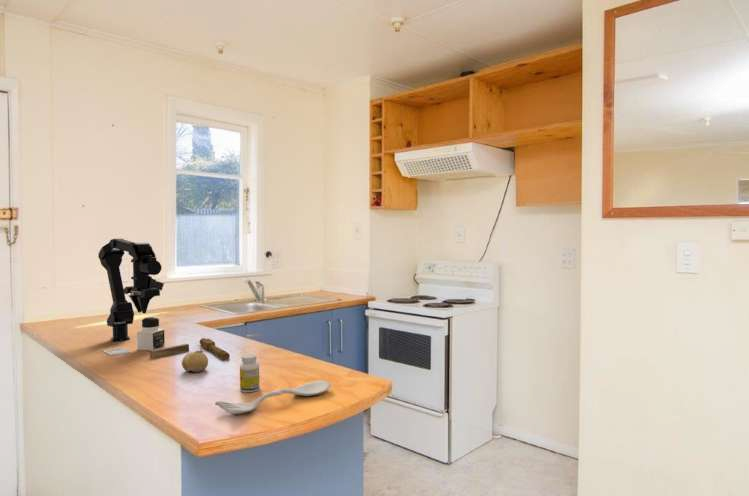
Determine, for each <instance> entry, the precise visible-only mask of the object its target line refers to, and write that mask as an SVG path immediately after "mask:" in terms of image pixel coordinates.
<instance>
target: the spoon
mask: <svg viewBox="0 0 749 496" xmlns="http://www.w3.org/2000/svg"><path fill="white" fill-rule="evenodd" d="M330 387H331V382H329V381H328V380H315V381H310V382H307V383H304V384H301V385H298V386H295V387H293V388H289V389H287V388H285V389H284V388H283V389H276V390H275V389H274V390H273V391H270V392H267V393H265V394H263V395H261V396H259V397H258V398H256V399H255V400H253V401H251V402H226V401H222V400H221V401H219V400H218V401H216V402H214V404H215V405H216V406H218V407H219V408H221V409H223V410H224V411H225V412H228V413H230V414H231V415H237V414H238V415H239V414H245V413H249V412H251V411H253V410H255V408H256V407H257V406H258V405H259V404H260V403H261V402H263V401H264V400H265V399H268V398H270V397H276V396H281V395H283V394H290V395H291V394H293V395H296V396H303V397H310V396H316V395H320V394H323V393H324V392H326V391H328V389H330Z"/></svg>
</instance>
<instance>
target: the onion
mask: <svg viewBox="0 0 749 496" xmlns="http://www.w3.org/2000/svg"><path fill="white" fill-rule="evenodd" d="M181 365H182V368H183V370H184V371H186V372H187V373H189V374H190V373H191V372H193V373H200V372H202V371H204V370H206V369H207V367H208V365H209V358H208V357H207V355H206V354H205V353H204V351H203V350H202V348H200V349H199V350H195V351H194V350H193V351H189V352H188V353H187V354H185V355H184V356H183V358H182V360H181ZM190 371H191V372H190Z"/></svg>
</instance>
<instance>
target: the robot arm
mask: <svg viewBox="0 0 749 496" xmlns="http://www.w3.org/2000/svg"><path fill="white" fill-rule="evenodd" d="M125 252H127V253H128V255H129V256H131V257H132V259H131V260H130V262H131V263H132V268H133V269H132V276H130V277H131V278H130V279H131V280H133V281H132V282H133V285H132V286H131V285H130V286H129V285H128V286H125V287H124V284H123V279H122V273H121V269H120V266H121V264H122V262H123V256H124V255H125V254H126V253H125ZM97 255H98V256H97V257H98V260H99V261H100V265H101V266H102V267H103V268H104V270H106V273H107V278H108V279H107V280H108V284H109V289H110V293H111V294H110V295H111V298H112V305H111V307H110V309H109V313H110V314H109V315H108V317H107V319H106V324H107V326H108V327H112V337H111V338H110V339H111V341H112V342H117V341H118V342H120V341H127V340H131V337H130V336H129V325H132V324H133V323H134V319H135V311H134V309H133V308H134V307H135V309H136V311H137V313H138V314H139V313H142V314H146V313H147V310H148V307H149V303H150V301H151V300H152V299H153V298H155V297H160V296H161V292H162V291H163V289H164V285H165V284H164V282H162V281H161V282H160V281H158V280H157V279H155V278H153V277H152V276H156V275H159V274H160V273H161V271H162V264H161V262H159V261H158V260H157V256H156V253H155V252H154V250H153V246H151V244H150V243H149V242H148V241H147V242H146V241H145V242H134V241H131V240H127V239H125V238H112V239H110V240H109V242H108V243H106V244H105V245H103V246H102V247H101V248H100V250H99V251H98V253H97ZM126 295H128V297H129V299H130V300H131V302H130V301H127V299H126ZM133 306H134V307H133Z"/></svg>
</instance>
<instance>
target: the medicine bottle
mask: <svg viewBox="0 0 749 496" xmlns="http://www.w3.org/2000/svg"><path fill="white" fill-rule="evenodd" d="M141 327H142V328H141V329H142V330H138V331H137V332H136V341H137V342H136V343H137V344H136V346H137V347H136V350H137V351H147V352H148V351H149V352H150V351H151V350H156V349H161V348H165V346H166V345H165V329H164V328H160V318H159V317H154V316H152V317H151V316H150V317H144V318H143V319H142V320H141Z"/></svg>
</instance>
